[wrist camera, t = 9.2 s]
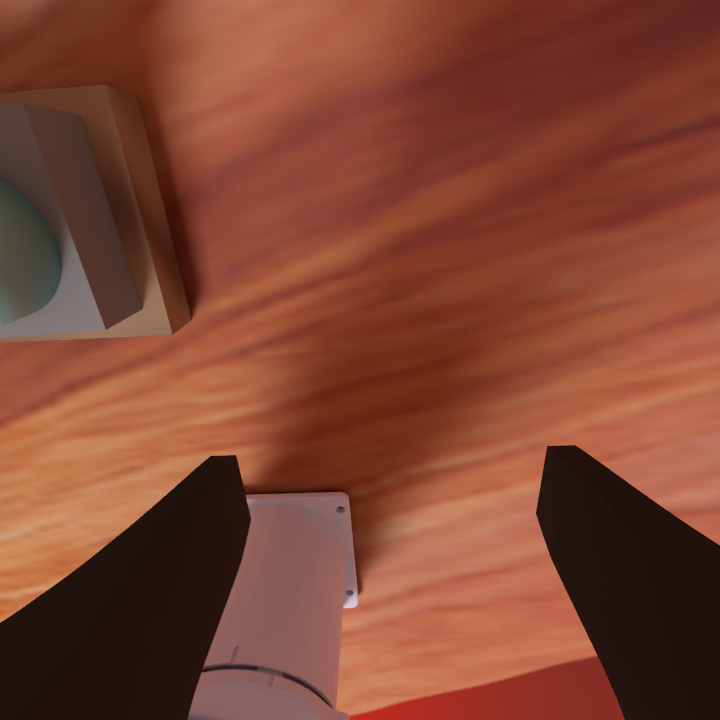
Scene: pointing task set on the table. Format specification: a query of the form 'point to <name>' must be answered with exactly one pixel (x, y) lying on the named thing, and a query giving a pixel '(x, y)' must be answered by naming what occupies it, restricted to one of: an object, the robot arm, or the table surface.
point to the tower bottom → (124, 205)
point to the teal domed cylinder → (25, 256)
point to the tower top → (67, 221)
